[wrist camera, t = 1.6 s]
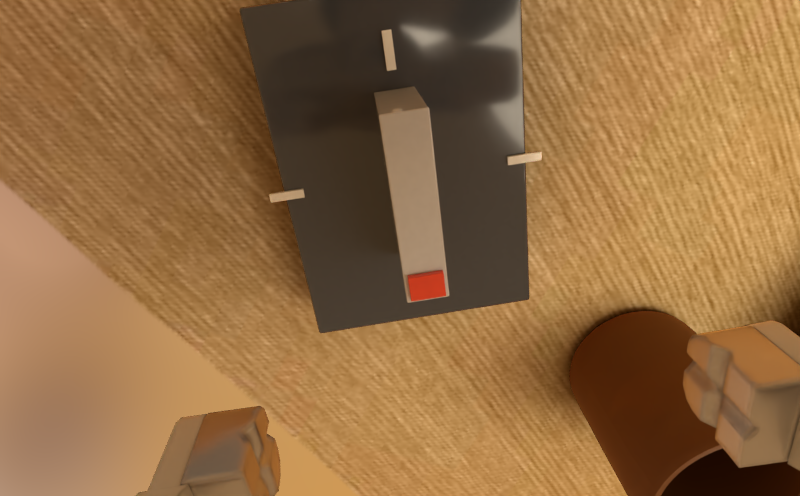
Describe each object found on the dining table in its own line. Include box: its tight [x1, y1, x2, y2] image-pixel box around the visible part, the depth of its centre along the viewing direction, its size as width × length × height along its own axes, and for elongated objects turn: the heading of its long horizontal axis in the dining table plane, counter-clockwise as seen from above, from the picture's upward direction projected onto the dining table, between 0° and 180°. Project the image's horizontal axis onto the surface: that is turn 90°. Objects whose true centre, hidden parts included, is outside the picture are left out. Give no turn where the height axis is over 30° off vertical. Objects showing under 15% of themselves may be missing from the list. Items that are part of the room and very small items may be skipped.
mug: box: [569, 311, 800, 496], centre depth 27 cm, size 12×8×9 cm, turn 47°
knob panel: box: [240, 0, 542, 333], centre depth 23 cm, size 14×11×3 cm
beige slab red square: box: [374, 86, 449, 303], centre depth 20 cm, size 7×2×4 cm, turn 8°
